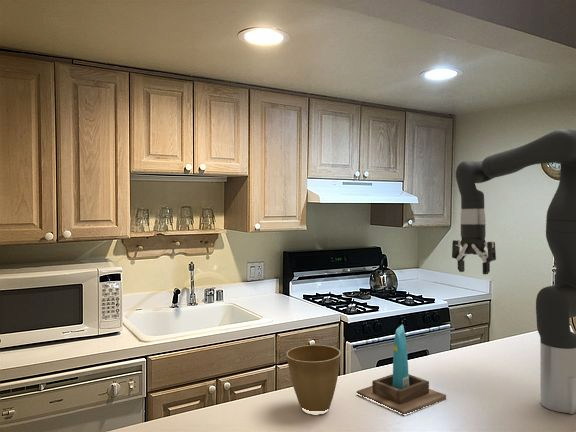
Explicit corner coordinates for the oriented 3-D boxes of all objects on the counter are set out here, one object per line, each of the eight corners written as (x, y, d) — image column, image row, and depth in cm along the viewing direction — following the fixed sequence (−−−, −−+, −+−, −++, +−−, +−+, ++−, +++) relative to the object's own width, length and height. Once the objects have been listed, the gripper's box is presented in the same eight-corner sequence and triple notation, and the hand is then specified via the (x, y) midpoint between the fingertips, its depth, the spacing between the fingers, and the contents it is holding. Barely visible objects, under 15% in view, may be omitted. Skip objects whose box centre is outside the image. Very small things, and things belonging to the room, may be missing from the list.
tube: (394, 386, 145) (394, 323, 144) (411, 389, 143) (410, 324, 142) (390, 396, 138) (389, 329, 137) (407, 398, 136) (406, 330, 135)
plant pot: (327, 395, 142) (326, 341, 142) (351, 416, 128) (350, 356, 128) (279, 403, 137) (278, 348, 136) (299, 426, 123) (298, 364, 122)
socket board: (446, 399, 138) (446, 382, 138) (404, 416, 127) (404, 398, 127) (397, 380, 152) (397, 366, 152) (356, 395, 142) (356, 379, 142)
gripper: (446, 223, 159) (447, 272, 159) (486, 223, 148) (487, 276, 148) (460, 222, 164) (460, 270, 164) (500, 222, 152) (500, 274, 152)
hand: (473, 273), depth 156 cm, fingers open, 8 cm apart
